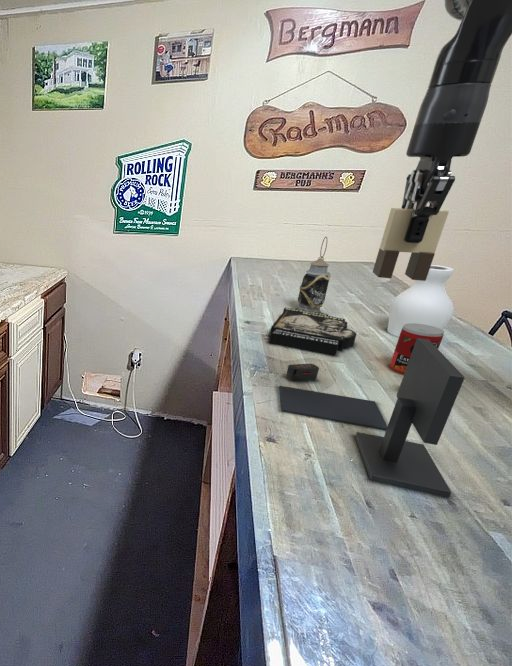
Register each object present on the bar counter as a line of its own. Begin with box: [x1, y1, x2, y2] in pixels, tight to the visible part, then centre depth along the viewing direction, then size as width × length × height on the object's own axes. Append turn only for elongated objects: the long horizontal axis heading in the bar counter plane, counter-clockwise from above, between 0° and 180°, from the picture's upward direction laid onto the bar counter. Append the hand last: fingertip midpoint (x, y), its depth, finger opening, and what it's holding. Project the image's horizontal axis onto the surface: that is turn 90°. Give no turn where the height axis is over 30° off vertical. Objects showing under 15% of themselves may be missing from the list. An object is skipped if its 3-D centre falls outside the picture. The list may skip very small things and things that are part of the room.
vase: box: [386, 264, 455, 338], centre depth 131 cm, size 14×14×20 cm
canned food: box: [389, 323, 445, 376], centre depth 109 cm, size 8×8×11 cm
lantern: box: [297, 236, 332, 313], centre depth 152 cm, size 9×8×25 cm
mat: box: [279, 385, 388, 432], centre depth 95 cm, size 18×12×1 cm, turn 65°
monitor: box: [354, 338, 466, 499], centre depth 73 cm, size 10×16×20 cm, turn 155°
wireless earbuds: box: [285, 363, 320, 382], centre depth 108 cm, size 5×7×3 cm, turn 95°
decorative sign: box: [268, 307, 357, 357], centre depth 134 cm, size 21×3×30 cm
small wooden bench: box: [372, 207, 450, 281], centre depth 75 cm, size 7×4×11 cm, turn 66°
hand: (409, 240), depth 74 cm, fingers closed on small wooden bench, 3 cm apart
